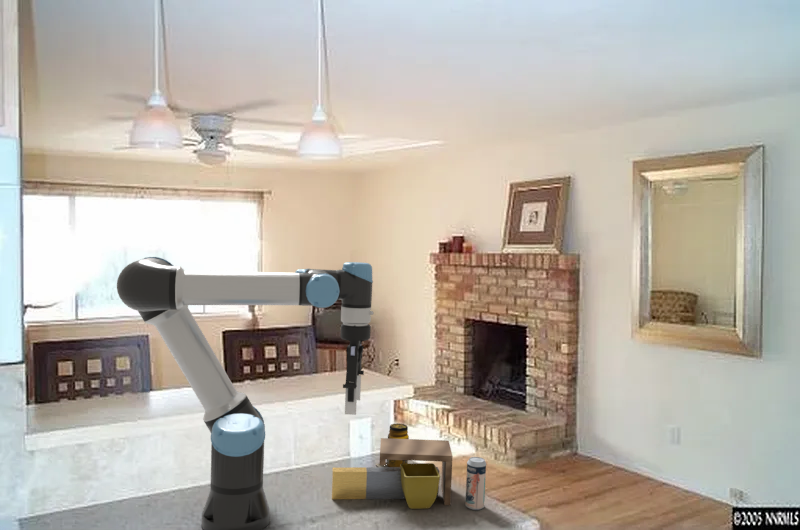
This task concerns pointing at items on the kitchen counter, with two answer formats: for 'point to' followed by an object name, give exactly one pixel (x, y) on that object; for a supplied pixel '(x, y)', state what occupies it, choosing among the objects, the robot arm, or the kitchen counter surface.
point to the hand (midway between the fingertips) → (352, 406)
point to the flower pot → (419, 484)
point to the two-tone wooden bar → (368, 483)
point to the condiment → (396, 433)
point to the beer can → (475, 483)
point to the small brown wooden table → (421, 456)
